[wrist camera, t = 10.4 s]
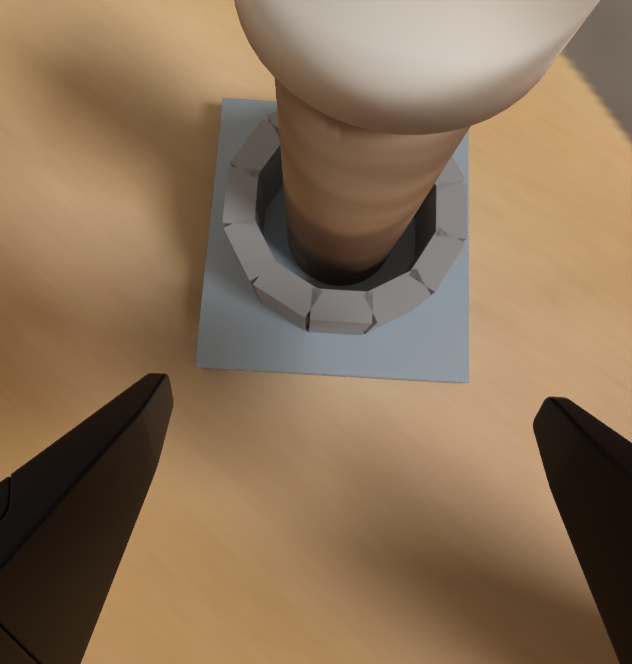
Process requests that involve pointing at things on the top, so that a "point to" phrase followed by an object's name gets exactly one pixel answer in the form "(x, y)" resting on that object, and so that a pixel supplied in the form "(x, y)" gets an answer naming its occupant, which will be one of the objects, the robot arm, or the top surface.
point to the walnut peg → (388, 106)
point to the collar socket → (319, 298)
